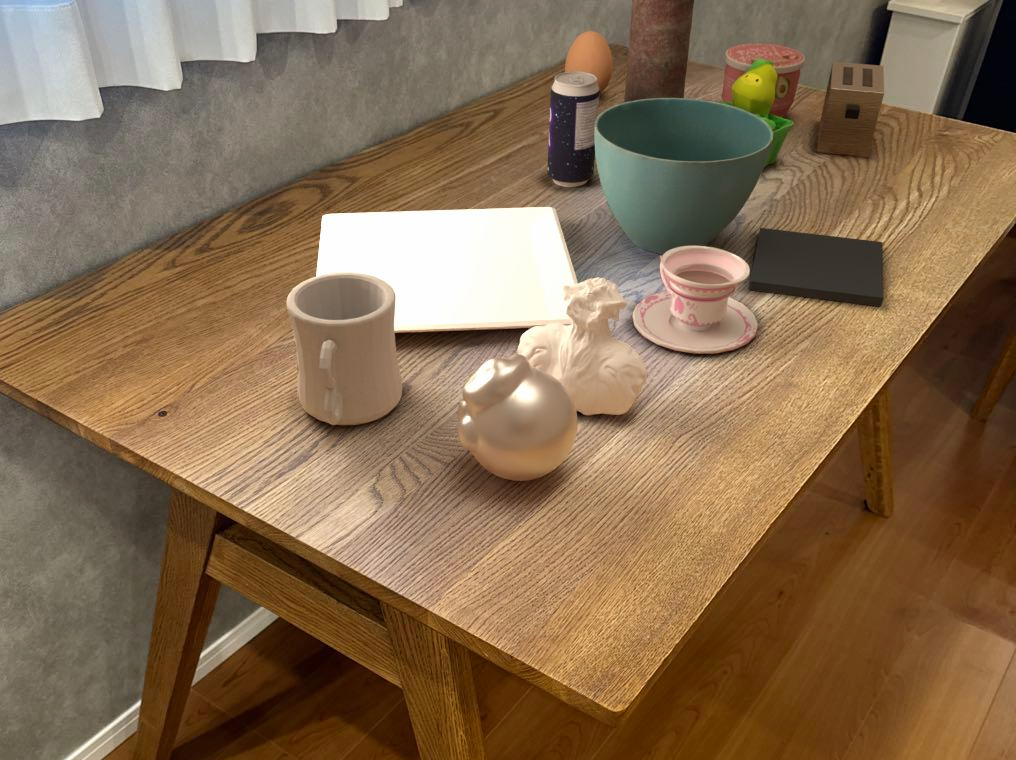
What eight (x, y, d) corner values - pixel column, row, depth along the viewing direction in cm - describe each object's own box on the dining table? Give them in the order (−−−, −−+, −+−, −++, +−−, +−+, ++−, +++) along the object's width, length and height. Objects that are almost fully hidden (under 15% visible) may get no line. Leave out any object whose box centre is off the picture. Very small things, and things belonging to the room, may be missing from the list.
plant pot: (748, 209, 119) (767, 101, 111) (756, 283, 105) (779, 165, 97) (592, 200, 121) (600, 93, 113) (580, 271, 107) (589, 155, 99)
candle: (636, 172, 127) (654, -5, 114) (607, 152, 132) (621, -20, 119) (688, 162, 129) (712, -12, 116) (657, 142, 134) (677, -27, 121)
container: (711, 124, 139) (720, 62, 134) (721, 99, 147) (730, 40, 141) (790, 132, 137) (802, 70, 132) (796, 107, 144) (808, 46, 139)
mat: (880, 250, 111) (882, 241, 110) (880, 306, 101) (883, 297, 101) (758, 236, 113) (760, 227, 113) (748, 289, 104) (750, 280, 103)
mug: (311, 369, 93) (299, 268, 86) (410, 374, 92) (404, 272, 86) (278, 449, 84) (261, 343, 77) (387, 456, 83) (379, 349, 77)
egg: (609, 90, 150) (615, 25, 144) (610, 106, 145) (615, 39, 139) (563, 89, 150) (567, 24, 144) (562, 105, 145) (566, 38, 139)
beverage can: (586, 169, 128) (593, 68, 120) (598, 187, 123) (606, 84, 116) (542, 173, 127) (546, 71, 119) (552, 191, 123) (557, 87, 115)
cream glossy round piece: (501, 422, 87) (502, 317, 80) (594, 462, 82) (604, 355, 76) (434, 473, 81) (429, 366, 75) (530, 520, 77) (535, 410, 70)
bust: (642, 434, 89) (685, 308, 88) (618, 424, 82) (664, 288, 81) (521, 395, 94) (561, 276, 92) (489, 383, 87) (531, 254, 85)
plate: (588, 340, 97) (590, 320, 95) (312, 350, 95) (310, 331, 94) (554, 222, 116) (554, 204, 115) (324, 229, 115) (322, 212, 114)
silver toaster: (868, 127, 138) (883, 65, 133) (867, 160, 130) (884, 95, 124) (819, 123, 140) (832, 61, 134) (816, 155, 131) (830, 90, 126)
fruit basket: (679, 154, 132) (691, 61, 124) (721, 136, 136) (736, 46, 128) (752, 179, 125) (769, 83, 118) (794, 161, 130) (813, 67, 122)
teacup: (781, 323, 99) (794, 264, 95) (709, 371, 93) (720, 309, 89) (680, 282, 105) (688, 225, 101) (606, 324, 99) (612, 265, 95)
